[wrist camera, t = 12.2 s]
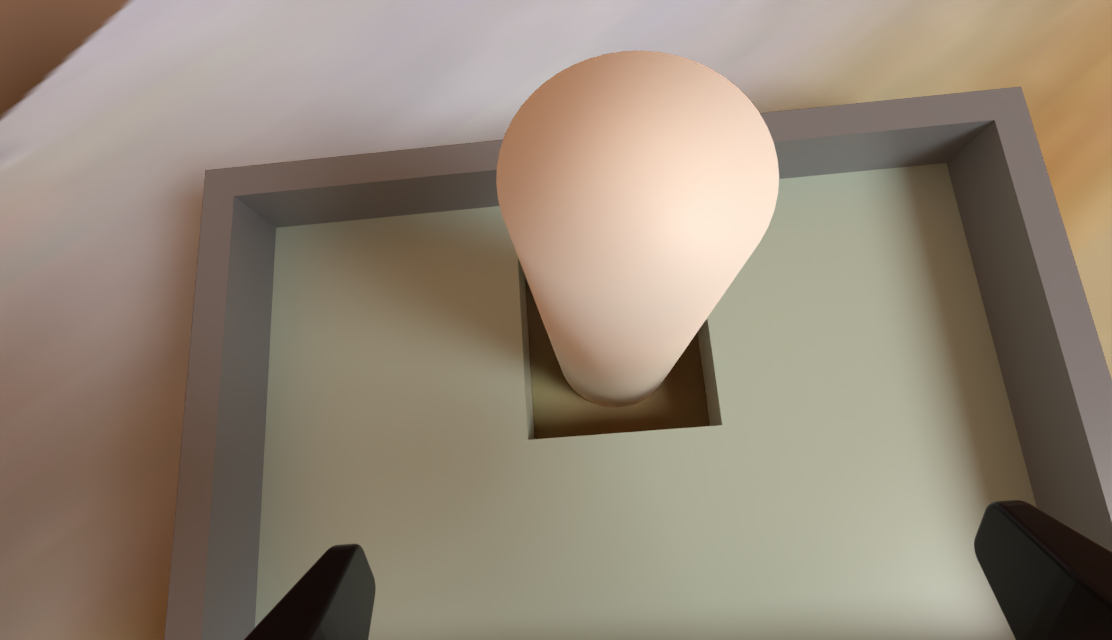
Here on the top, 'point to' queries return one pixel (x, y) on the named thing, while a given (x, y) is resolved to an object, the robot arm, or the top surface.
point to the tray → (658, 455)
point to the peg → (633, 211)
